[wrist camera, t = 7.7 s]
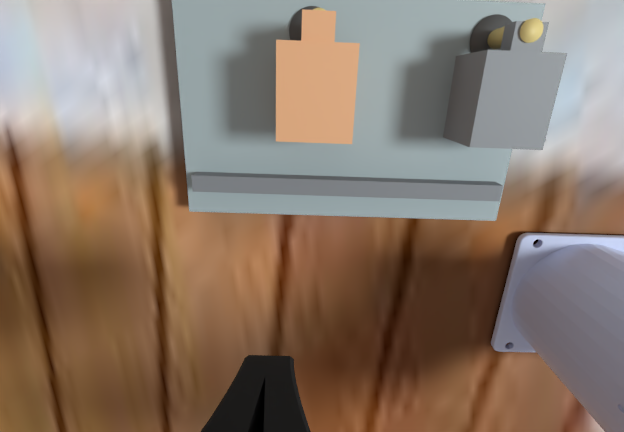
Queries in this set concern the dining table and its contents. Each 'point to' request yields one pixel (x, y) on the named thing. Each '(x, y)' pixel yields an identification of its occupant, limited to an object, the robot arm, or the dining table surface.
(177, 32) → the gauge board
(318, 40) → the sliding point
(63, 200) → the dining table surface
